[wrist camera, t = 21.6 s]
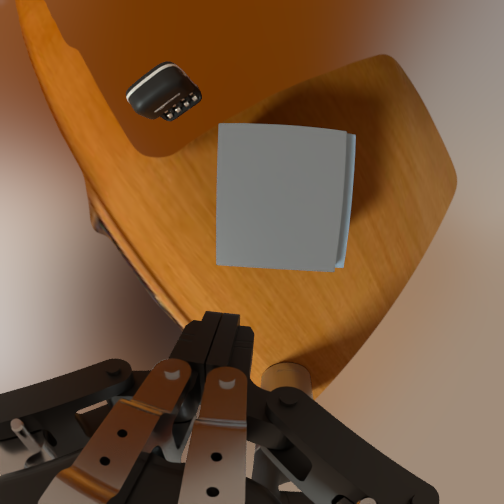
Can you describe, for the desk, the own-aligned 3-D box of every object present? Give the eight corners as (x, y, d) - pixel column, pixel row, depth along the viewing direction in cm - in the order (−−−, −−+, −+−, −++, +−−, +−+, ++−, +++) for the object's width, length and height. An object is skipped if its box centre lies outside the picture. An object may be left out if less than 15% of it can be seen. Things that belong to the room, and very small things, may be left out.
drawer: (326, 241, 38) (343, 267, 28) (244, 236, 39) (234, 261, 29) (333, 143, 34) (355, 134, 24) (248, 137, 35) (238, 125, 25)
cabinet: (317, 240, 38) (334, 272, 27) (233, 235, 39) (216, 264, 28) (324, 142, 34) (346, 131, 23) (236, 137, 35) (218, 123, 23)
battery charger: (169, 129, 35) (131, 118, 24) (157, 110, 34) (118, 94, 23) (209, 101, 34) (184, 78, 23) (196, 82, 33) (168, 55, 22)
